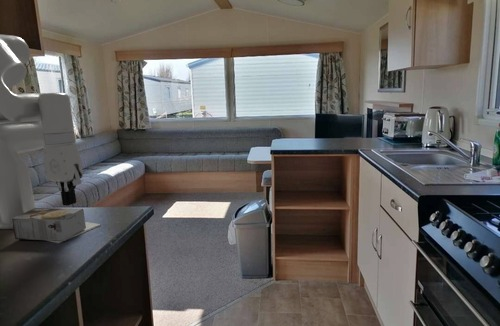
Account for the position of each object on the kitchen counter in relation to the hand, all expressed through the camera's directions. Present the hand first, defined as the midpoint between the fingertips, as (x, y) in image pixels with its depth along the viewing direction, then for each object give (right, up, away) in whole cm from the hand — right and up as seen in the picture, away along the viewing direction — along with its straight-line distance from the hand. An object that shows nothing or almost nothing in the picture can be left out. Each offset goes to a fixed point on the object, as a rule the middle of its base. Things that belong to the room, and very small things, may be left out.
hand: (69, 203), depth 102 cm
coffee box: (+2, -6, -1) cm, 6 cm away
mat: (-5, -8, +5) cm, 11 cm away
